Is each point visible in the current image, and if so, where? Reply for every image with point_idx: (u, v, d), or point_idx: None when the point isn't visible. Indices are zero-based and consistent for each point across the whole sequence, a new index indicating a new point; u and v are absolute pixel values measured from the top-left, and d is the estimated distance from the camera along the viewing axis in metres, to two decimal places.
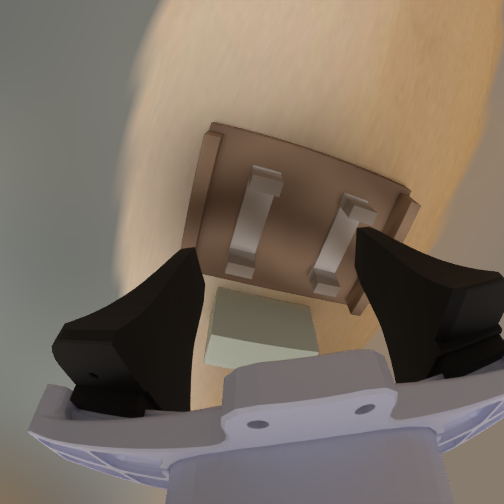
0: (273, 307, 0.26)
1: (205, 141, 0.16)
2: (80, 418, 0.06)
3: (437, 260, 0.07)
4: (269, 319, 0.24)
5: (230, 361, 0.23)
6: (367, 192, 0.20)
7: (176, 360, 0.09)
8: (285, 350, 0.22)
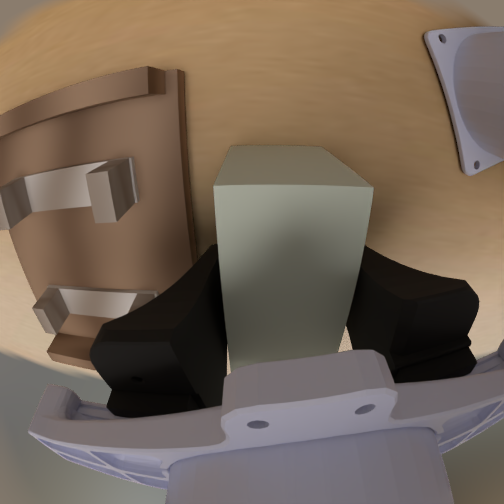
0: None
1: (56, 360, 0.15)
2: (80, 418, 0.06)
3: (401, 266, 0.08)
4: None
5: None
6: None
7: (216, 359, 0.08)
8: (230, 283, 0.08)
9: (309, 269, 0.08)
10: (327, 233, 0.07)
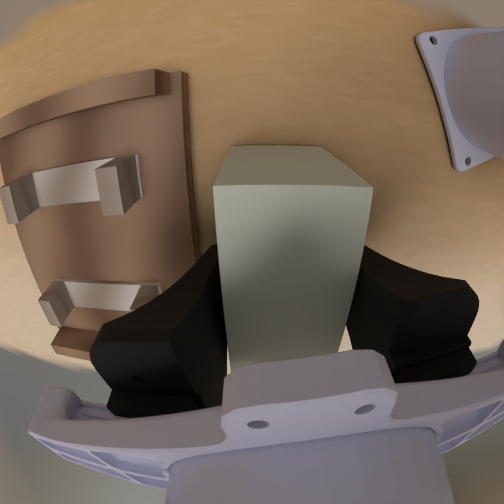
0: None
1: (60, 353, 0.16)
2: (80, 418, 0.06)
3: (401, 266, 0.07)
4: None
5: None
6: None
7: (216, 359, 0.08)
8: (231, 284, 0.08)
9: (309, 269, 0.08)
10: (326, 232, 0.07)
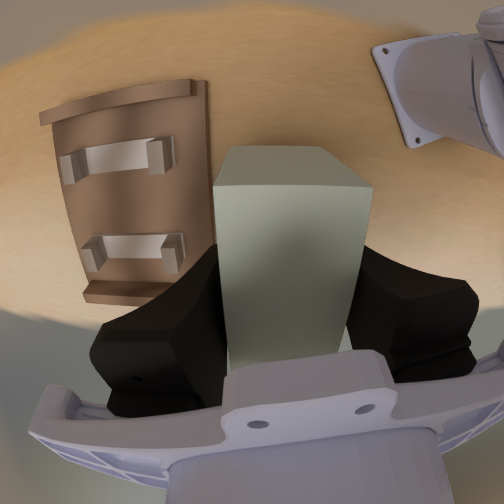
0: None
1: (89, 301, 0.21)
2: (80, 418, 0.06)
3: (401, 266, 0.07)
4: None
5: None
6: (70, 153, 0.17)
7: (216, 359, 0.08)
8: (231, 284, 0.08)
9: (308, 269, 0.08)
10: (326, 233, 0.07)
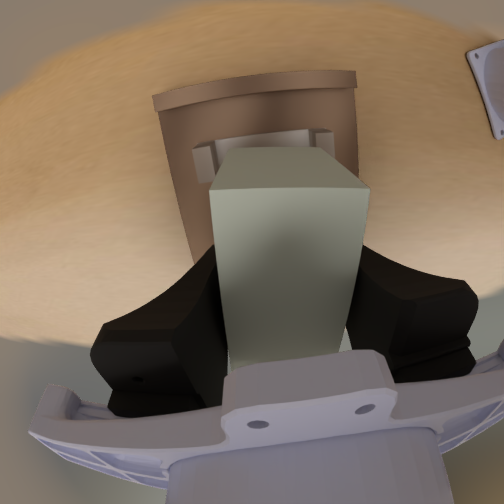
0: None
1: None
2: (80, 418, 0.06)
3: (401, 266, 0.07)
4: None
5: None
6: (189, 148, 0.16)
7: (217, 359, 0.08)
8: (229, 286, 0.08)
9: (306, 271, 0.08)
10: (324, 235, 0.07)
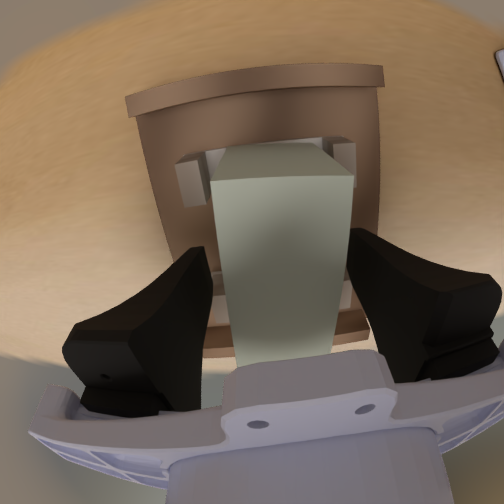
0: None
1: (209, 356, 0.18)
2: (80, 418, 0.06)
3: (427, 262, 0.07)
4: None
5: (307, 346, 0.11)
6: (173, 160, 0.13)
7: (188, 360, 0.09)
8: (230, 268, 0.09)
9: (300, 252, 0.09)
10: (314, 218, 0.08)
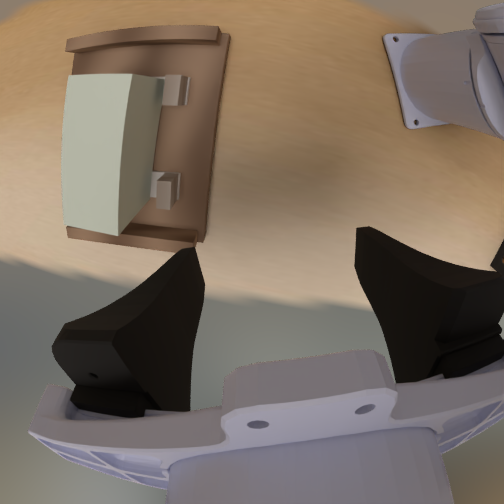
0: None
1: (71, 236, 0.20)
2: (80, 418, 0.06)
3: (437, 260, 0.07)
4: None
5: (101, 198, 0.14)
6: None
7: (176, 360, 0.09)
8: (66, 125, 0.12)
9: (99, 118, 0.12)
10: (108, 97, 0.11)
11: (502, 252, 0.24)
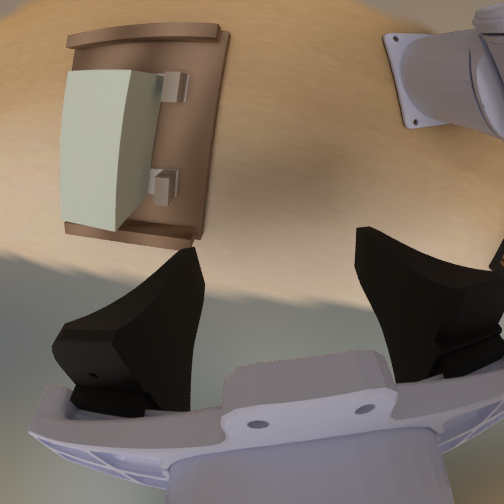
0: None
1: (69, 232, 0.20)
2: (80, 418, 0.06)
3: (437, 260, 0.07)
4: None
5: (99, 194, 0.14)
6: None
7: (176, 360, 0.09)
8: (65, 121, 0.11)
9: (98, 114, 0.11)
10: (107, 93, 0.11)
11: (501, 254, 0.24)
